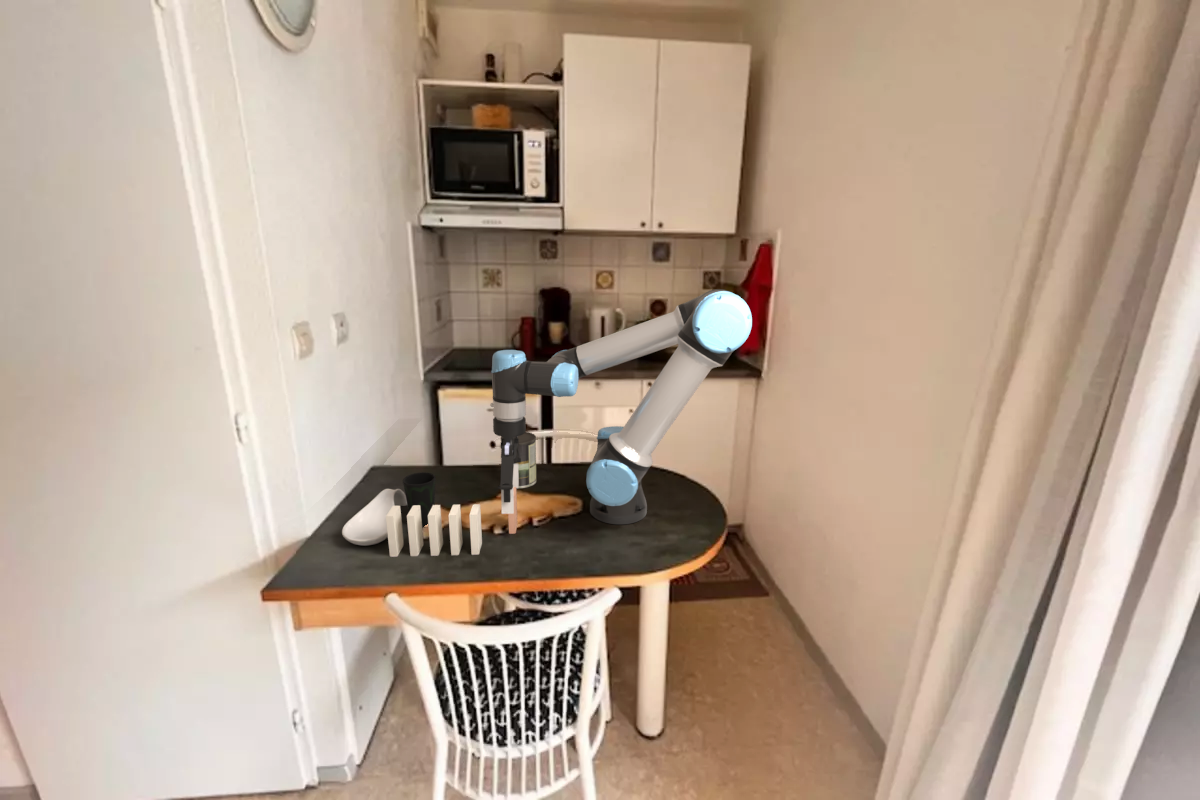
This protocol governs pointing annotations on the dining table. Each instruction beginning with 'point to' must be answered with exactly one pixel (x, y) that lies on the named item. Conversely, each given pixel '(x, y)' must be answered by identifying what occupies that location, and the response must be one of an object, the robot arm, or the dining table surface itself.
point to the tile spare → (513, 516)
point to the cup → (420, 492)
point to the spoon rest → (373, 519)
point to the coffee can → (527, 460)
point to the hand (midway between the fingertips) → (510, 499)
